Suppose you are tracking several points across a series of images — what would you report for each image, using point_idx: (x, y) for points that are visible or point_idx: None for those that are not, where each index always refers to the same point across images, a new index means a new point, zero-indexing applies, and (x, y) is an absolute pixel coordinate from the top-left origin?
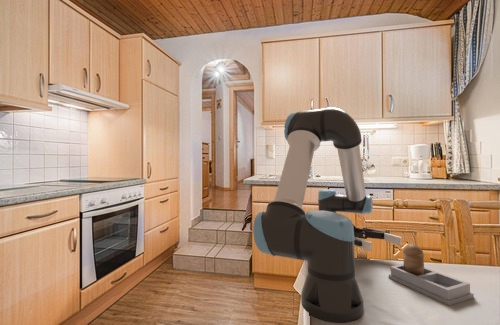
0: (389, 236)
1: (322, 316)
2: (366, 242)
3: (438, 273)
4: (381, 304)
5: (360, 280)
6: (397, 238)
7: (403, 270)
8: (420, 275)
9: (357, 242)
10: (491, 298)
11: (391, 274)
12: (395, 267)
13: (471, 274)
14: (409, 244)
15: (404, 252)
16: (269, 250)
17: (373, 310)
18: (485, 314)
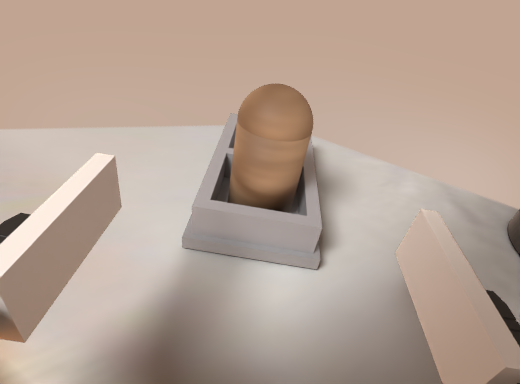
0: (55, 240)
1: None
2: (447, 240)
3: (226, 145)
4: (450, 215)
5: None
6: (103, 181)
7: (306, 194)
8: None
9: (506, 318)
10: (192, 128)
11: (313, 250)
12: (310, 216)
13: (34, 155)
14: (286, 94)
15: (309, 132)
16: None
17: (482, 214)
18: None
